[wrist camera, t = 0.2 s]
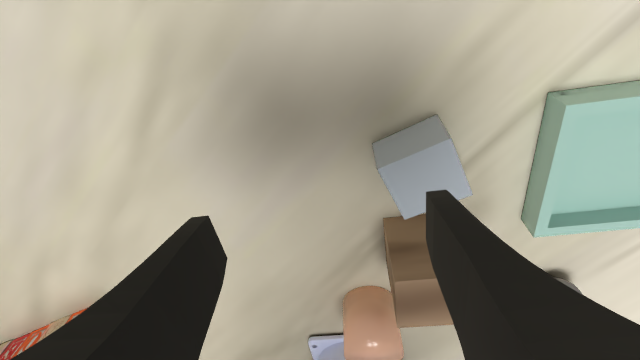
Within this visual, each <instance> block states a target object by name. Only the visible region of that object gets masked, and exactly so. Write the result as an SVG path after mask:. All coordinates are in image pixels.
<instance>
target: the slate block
mask: <svg viewBox="0 0 640 360" xmlns="http://www.w3.org/2000/svg"><path fill="white" fill-rule="evenodd" d="M372 145H373V150H374V156H375V161H376V166H377V170H378V172H379V174H380V176H381V178H382V179H383V181H384V183H385V185H386V187H387V189H388V190H389V192H390V194H391V196H392V198H393V200H394V201H395V203H396V205H397V207H398V209H399V211H400V212H401V214H402V216H403V218H404V220H406V219H408V218H411V217H414V216H417V215H419V214H422V213H425V212H426V192H428V191H437V190H447V191H449V192H450V193H451V194H452V195H453V196H454V197H455V198H456V199H457V200H460V199H463V198H466V197H468V196H471V195H473V194H472V191H471V189H470V186H469V183H468V181H467V178H466V175H465V173H464V170H463V168H462V165H461V162H460V160H459V157H458V155H457V152H456V149H455V147H454V144H453V141H452V139H451V137H450V135H449V134H448V132H447V130H446V128H445V127H444V125H443V123H442V122H441V120H440V118H439V117H438V115H435V116H432V117H430V118H428V119H426V120H423V121H421V122H419V123H417V124H415V125H412V126H410V127H408V128H406V129H403V130H401V131H399V132H397V133H395V134H392V135H390V136H388V137H386V138H384V139H381V140H379V141H377V142H375V143H372Z"/></svg>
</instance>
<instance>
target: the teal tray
mask: <svg viewBox="0 0 640 360" xmlns="http://www.w3.org/2000/svg"><path fill="white" fill-rule="evenodd" d="M521 220H522V221H523V223H524V224H525V226H526V227H527V228H528V230H529V231H530V233H531V234H532V236H533V237H544V236H556V235H567V234H578V233H589V232H601V231H612V230H623V229H634V228H640V80H639V81H632V82H624V83H617V84H609V85H602V86H594V87H587V88H579V89H572V90H564V91H557V92H549V93H548V95H547V100H546V105H545V109H544V114H543V119H542V123H541V128H540V133H539V137H538V142H537V147H536V151H535V156H534V161H533V165H532V170H531V175H530V179H529V184H528V189H527V193H526V198H525V203H524V207H523V212H522V217H521Z"/></svg>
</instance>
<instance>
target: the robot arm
mask: <svg viewBox="0 0 640 360" xmlns="http://www.w3.org/2000/svg"><path fill="white" fill-rule="evenodd" d="M426 242H427V247H428V251H429V255H430V259H431V263H432V267H433V270H434V273H435V276H436V278H437V281H438V284H439V286H440V289H441V292H442V294H443V297H444V300H445V302H446V305H447V308H448V310H449V313H450V316H451V318H452V321H453V323H454V326H455V329H456V331H457V334H458V337H459V340H460V343H461V346H462V350H463V354H464V357H465V360H640V325H639V324H637V323H635V322H633V321H631V320H629V319H627V318H625V317H623V316H621V315H619V314H617V313H615V312H613V311H611V310H609V309H607V308H605V307H604V306H602V305H600V304H598V303H596V302H594V301H593V300H591V299H589V298H587V297H586V296H584V295H582V294H580V293H579V292H577V291H575V290H574V289H572V288H570V287H568V286H567V285H565V284H563V283H562V282H560V281H559V280H557V279H555V278H554V277H552V276H551V275H549V274H548V273H546V272H545V271H543V270H542V269H540V268H539V267H537V266H536V265H534V264H533V263H531V262H530V261H528V260H527V259H526V258H524V257H523V256H522V255H520V254H519V253H518V252H516V251H515V250H514V249H512V248H511V247H510V246H509V245H507V244H506V243H505V242H504V241H502V240H501V239H500V238H499V237H497V236H496V235H495V234H494V233H493V232H492V231H490V230H489V229H488V228H487V227H486V226H485V225H484V224H482V223H481V222H480V221H479V220H478V219H477V218H476V217H475V216H474V215H472V214H471V213H470V212H469V211H468V210H467V209H466V208H465V207H464V206H463V205H462V204H461V203H460V202H459V201H458V200H457V199H456V198H455V197H454V196H453V195H452V194H451V193H450V192H449V191H447V190H437V191H428V192H426ZM226 263H227V256H226V254H225V252H224V250H223V247H222V245H221V243H220V241H219V238H218V236H217V234H216V232H215V229H214V227H213V225H212V223H211V220H210V218H209V216H201V217H192V218H190V219H189V220H188V221H187V222H186V223H185V224H183V225H182V226H181V227H180V228H179V229H178V230H177V231H176V232H175V233H174V234H173V235H172V236H171V237H169V238H168V239H167V240H166V241H165V242H164V243H163V244H162V245H161V246H160V247H159V248H158V249H157V250H156V251H155V252H154V253H152V254H151V255H150V256H149V257H148V258H147V259H146V260H145V261H144V262H143V263H142V264H141V265H139V266H138V267H137V268H136V269H135V270H134V271H133V272H131V273H130V274H129V275H128V276H127V277H126V278H125V279H123V280H122V281H121V282H120V283H119V284H118V285H117V286H115V287H114V288H113V289H112V290H110V291H109V292H108V293H107V294H105V295H104V296H103V297H102V298H100V299H99V300H98V301H96V302H95V303H94V304H93V305H91V306H90V307H89V308H87V309H86V310H85V311H83V312H82V313H80V314H79V315H78V316H76V317H75V318H73V319H72V320H70V321H69V322H67V323H66V324H64V325H63V326H62V327H60V328H59V329H57V330H56V331H54V332H53V333H51V334H50V335H48V336H47V337H45V338H44V339H42V340H41V341H39V342H38V343H36V344H34V345H33V346H31V347H29V348H28V349H26V350H25V351H23V352H21V353H20V354H18V355H16V356H15V357H13V358H11V359H10V360H198V359H199V356H200V352H201V349H202V346H203V343H204V340H205V337H206V334H207V331H208V328H209V325H210V322H211V319H212V316H213V313H214V310H215V307H216V304H217V301H218V298H219V294H220V291H221V288H222V284H223V279H224V275H225V269H226ZM308 344H309V348H310V351H311V354H312V357H313V360H346V359H345V357H344V335H333V336H316V337H310V338H309V339H308Z"/></svg>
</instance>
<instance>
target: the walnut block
mask: <svg viewBox="0 0 640 360" xmlns="http://www.w3.org/2000/svg"><path fill="white" fill-rule="evenodd" d="M383 222H384V235H385V248H386V261H387V268H388V274H389V280H390V286H391V292H392V298H393V305H394V311H395V317H396V323H397V328H404V327H420V326H436V325H452V324H454V323H453V321H452V318H451V316H450V313H449V310H448V308H447V305H446V302H445V300H444V297H443V294H442V292H441V289H440V286H439V284H438V281H437V278H436V276H435V273H434V270H433V267H432V263H431V259H430V255H429V251H428V247H427V242H426V214H420V215H417V216H414V217H411V218H408V219H406V220H404V218H403V216H400V217H390V218H383Z"/></svg>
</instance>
